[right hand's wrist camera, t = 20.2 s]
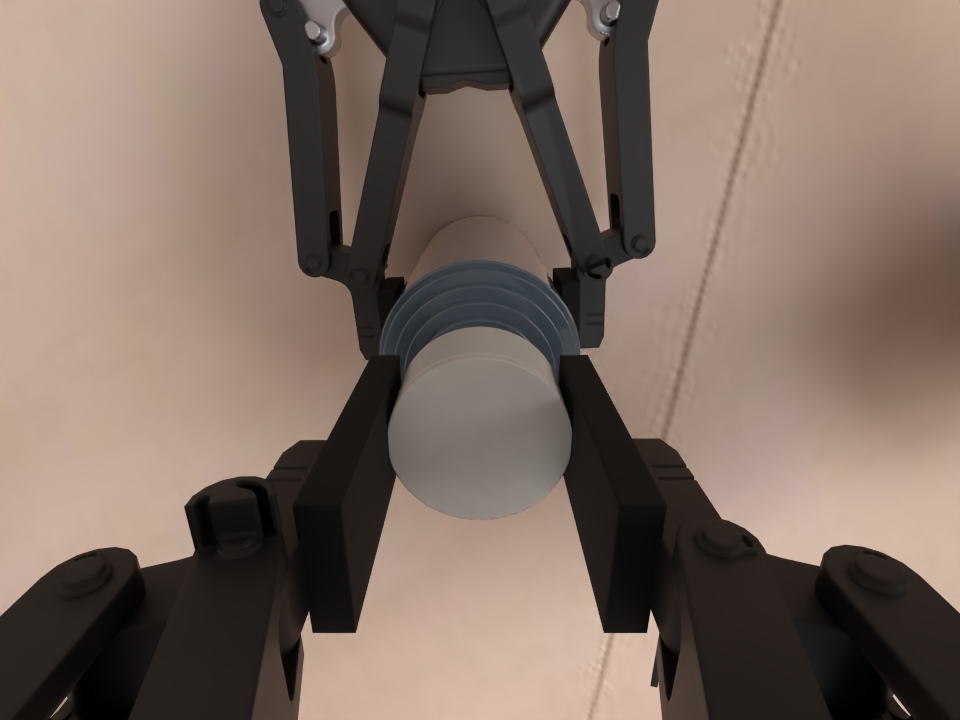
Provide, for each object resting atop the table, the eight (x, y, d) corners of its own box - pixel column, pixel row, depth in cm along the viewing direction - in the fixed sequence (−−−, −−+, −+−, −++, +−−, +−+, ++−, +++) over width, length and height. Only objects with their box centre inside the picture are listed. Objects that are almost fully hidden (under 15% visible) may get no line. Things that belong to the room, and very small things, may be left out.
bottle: (454, 354, 31) (427, 572, 15) (396, 251, 28) (291, 377, 12) (559, 303, 29) (653, 480, 14) (507, 192, 27) (547, 248, 11)
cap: (430, 301, 14) (421, 330, 11) (585, 358, 14) (605, 396, 12) (380, 440, 15) (364, 489, 13) (522, 486, 16) (529, 540, 13)
